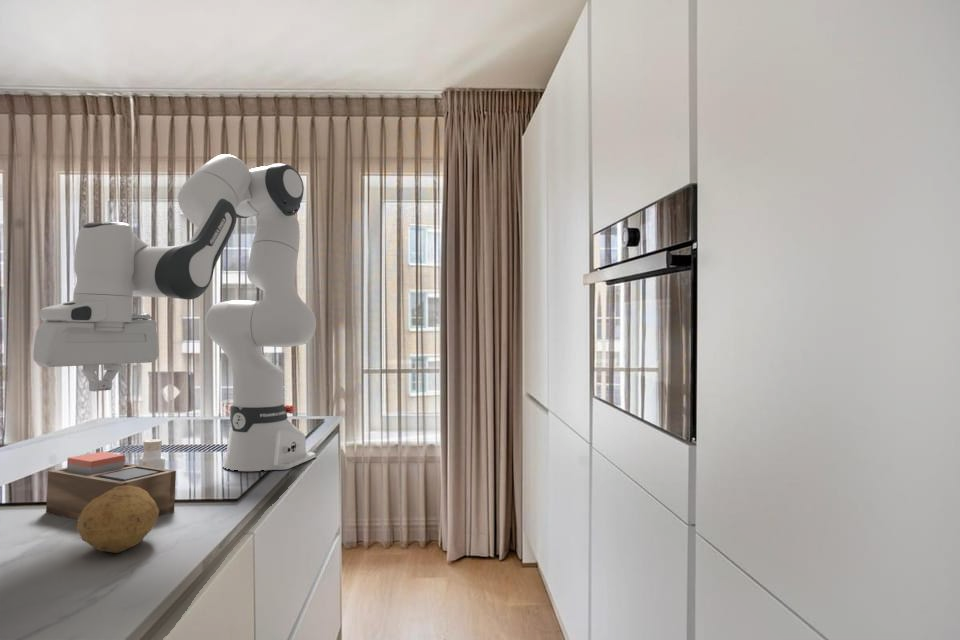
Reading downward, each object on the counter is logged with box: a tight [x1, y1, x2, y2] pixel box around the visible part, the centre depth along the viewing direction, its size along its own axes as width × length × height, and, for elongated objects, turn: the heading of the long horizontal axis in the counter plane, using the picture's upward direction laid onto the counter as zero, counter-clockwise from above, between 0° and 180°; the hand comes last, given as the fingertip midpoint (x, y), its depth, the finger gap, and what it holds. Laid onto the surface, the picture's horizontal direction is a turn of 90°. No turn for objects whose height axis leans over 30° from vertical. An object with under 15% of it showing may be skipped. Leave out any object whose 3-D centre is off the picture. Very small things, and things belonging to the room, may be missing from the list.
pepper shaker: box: [138, 438, 166, 469], centre depth 113 cm, size 4×4×10 cm
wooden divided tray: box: [45, 462, 177, 520], centre depth 98 cm, size 10×18×7 cm, turn 68°
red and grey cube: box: [66, 451, 126, 475], centre depth 100 cm, size 6×6×6 cm
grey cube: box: [100, 468, 158, 482], centre depth 97 cm, size 6×6×6 cm
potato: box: [76, 485, 159, 554], centre depth 82 cm, size 10×14×8 cm
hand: (100, 390), depth 101 cm, fingers closed
